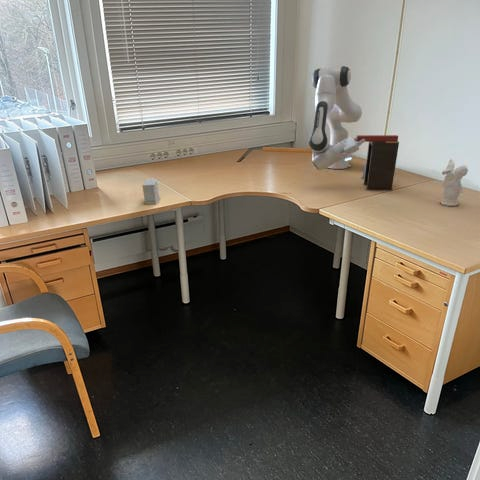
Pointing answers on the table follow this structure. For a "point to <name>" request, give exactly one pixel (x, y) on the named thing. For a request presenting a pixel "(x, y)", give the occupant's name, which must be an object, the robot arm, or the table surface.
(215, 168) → the table surface
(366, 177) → the stand
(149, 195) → the cosmetics box
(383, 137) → the red block
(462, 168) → the cherub figurine
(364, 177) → the medicine box
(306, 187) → the table surface
